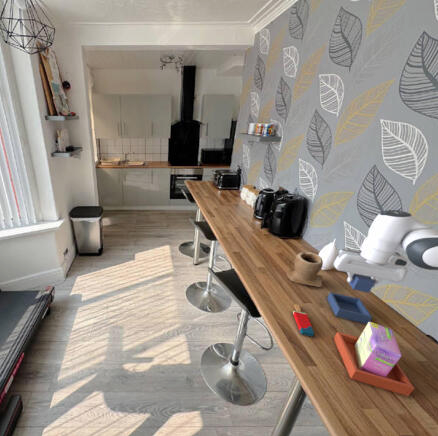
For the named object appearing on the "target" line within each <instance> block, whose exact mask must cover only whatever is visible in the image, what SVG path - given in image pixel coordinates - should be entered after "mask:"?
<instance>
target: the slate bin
mask: <svg viewBox="0 0 438 436" xmlns="http://www.w3.org/2000/svg"><path fill="white" fill-rule="evenodd" d="M326 300H327V301H328V304H329V306H330V307H331V309H332V312H333V313H334V315H335V317H337V318H341V319H344V320H348V321H353V322H357V323H361V324H365V325H367V324H368V322H371V321H372V319H373V316H372V314H371V313H370V312H369V310H368V308H367V307H366V305H365V304H364V303H363V301H362V300H361V298H360V297H359V298H358V297H355V296H354V297H353V296H349V295H345V294H341V293H336V292H331V291H330V292H329V293H328V295H327V298H326Z"/></svg>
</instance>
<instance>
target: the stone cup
mask: <svg viewBox="0 0 438 436" xmlns="http://www.w3.org/2000/svg"><path fill="white" fill-rule="evenodd" d="M293 265H294V269H288V270H287V271H286V276H287V278H288V279H289V280H290V281H291V282H294V283H297V284H302V285H307V286H311V287H318V288H322V286H323V280H324V276H323V275H322V274H318V273H320V271H322V269H321V268H322V266H323V260H322V258H321V257H320V256H319V254H317V253H315V252H310V251H309V252H307V251H302V252H299V253H297V255H296V256H295V258H294V264H293Z"/></svg>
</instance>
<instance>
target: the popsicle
mask: <svg viewBox="0 0 438 436" xmlns="http://www.w3.org/2000/svg"><path fill="white" fill-rule="evenodd" d="M293 307H294V309H295V310H293V313H292V315H293V317H294V320H295V323H296V325H297V327H298V330H299V332H300V334H301V335H302V336H303V335H304V336H307V337H311V338H313V337H314V336H315V332H314V329H313V327H312V324H311V321H310V319H309V316H308V313H307V312H303V311H301V307H300V304H297V303H294V305H293Z"/></svg>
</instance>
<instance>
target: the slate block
mask: <svg viewBox="0 0 438 436" xmlns="http://www.w3.org/2000/svg"><path fill="white" fill-rule="evenodd" d="M352 277H353V278H354V279H355V281H354V283H350V282H348V284H349V286H350V287H351V288H352V290H354V291H358V292H364V293H368V294H370V292H371V291H372V288H374V287H373V285H374V283H375V282H374V281H373V277H369V276H364V275H359V274H354V275H352Z"/></svg>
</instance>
